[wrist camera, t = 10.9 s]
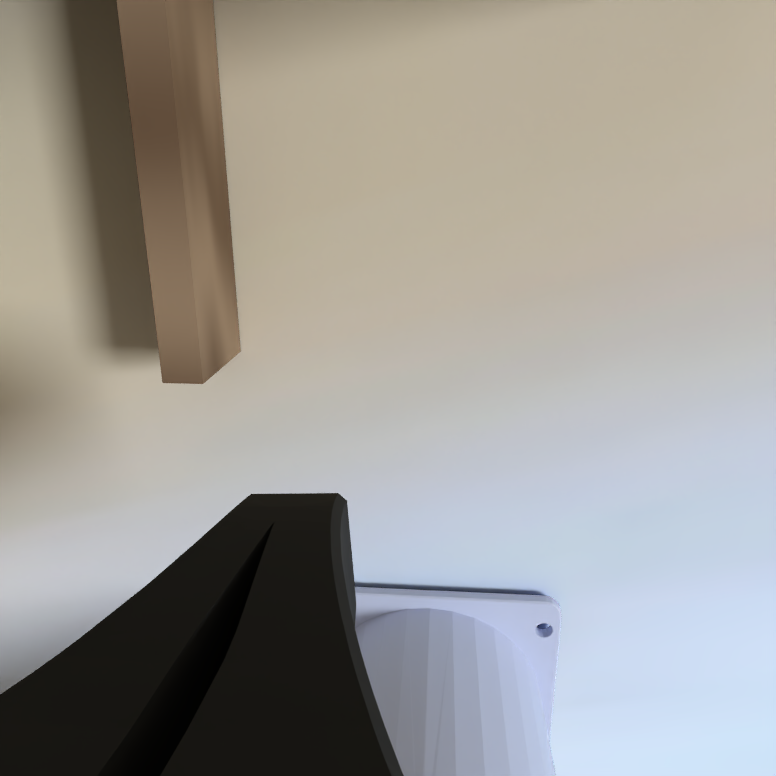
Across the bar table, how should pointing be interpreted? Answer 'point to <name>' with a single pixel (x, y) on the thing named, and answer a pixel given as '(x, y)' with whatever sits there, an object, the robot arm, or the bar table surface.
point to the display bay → (182, 182)
